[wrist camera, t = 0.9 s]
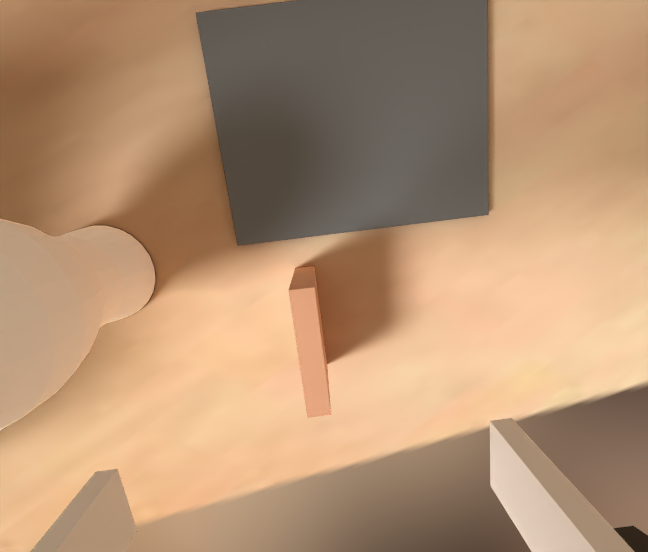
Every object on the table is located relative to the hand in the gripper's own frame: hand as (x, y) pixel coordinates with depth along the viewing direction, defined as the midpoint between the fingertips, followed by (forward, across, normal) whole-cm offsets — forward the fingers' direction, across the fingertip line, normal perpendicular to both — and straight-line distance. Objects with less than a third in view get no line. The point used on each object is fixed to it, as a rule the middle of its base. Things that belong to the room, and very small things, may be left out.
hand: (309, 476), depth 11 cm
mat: (+16, +5, +15) cm, 23 cm away
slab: (+17, 0, 0) cm, 17 cm away
